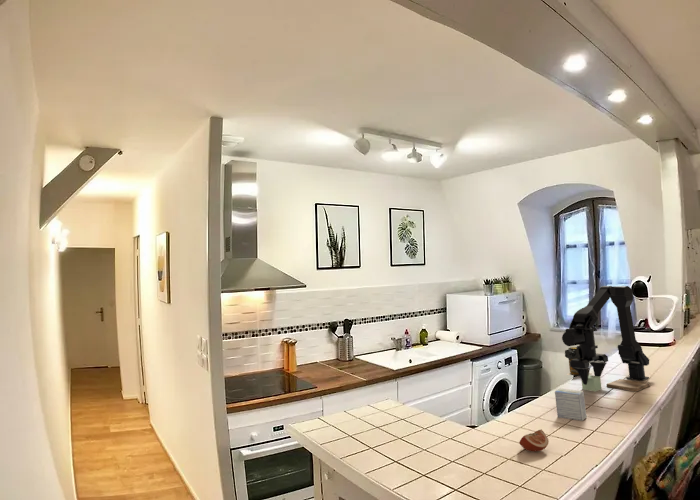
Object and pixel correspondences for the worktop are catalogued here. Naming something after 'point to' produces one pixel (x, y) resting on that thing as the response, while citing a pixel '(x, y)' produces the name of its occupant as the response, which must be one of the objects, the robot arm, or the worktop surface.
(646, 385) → the walnut board
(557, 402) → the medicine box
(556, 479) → the worktop surface
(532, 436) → the fruit slice
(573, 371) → the condiment
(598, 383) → the sage cube
